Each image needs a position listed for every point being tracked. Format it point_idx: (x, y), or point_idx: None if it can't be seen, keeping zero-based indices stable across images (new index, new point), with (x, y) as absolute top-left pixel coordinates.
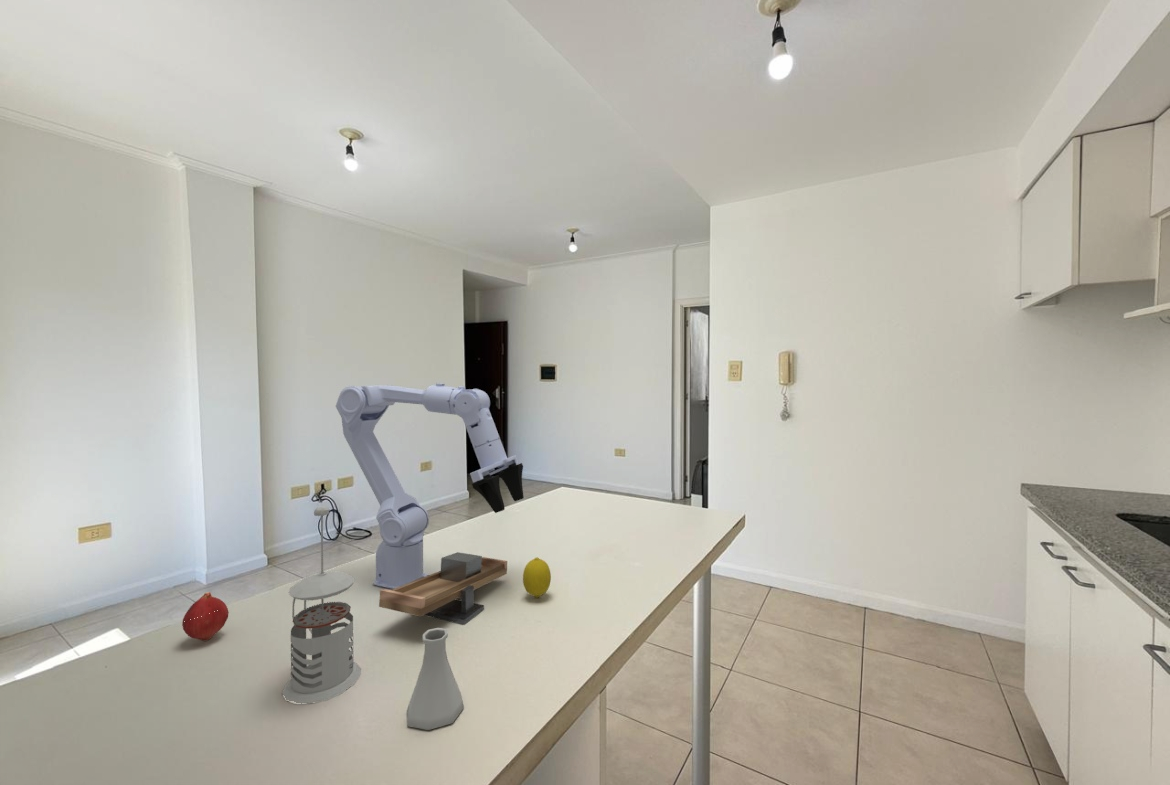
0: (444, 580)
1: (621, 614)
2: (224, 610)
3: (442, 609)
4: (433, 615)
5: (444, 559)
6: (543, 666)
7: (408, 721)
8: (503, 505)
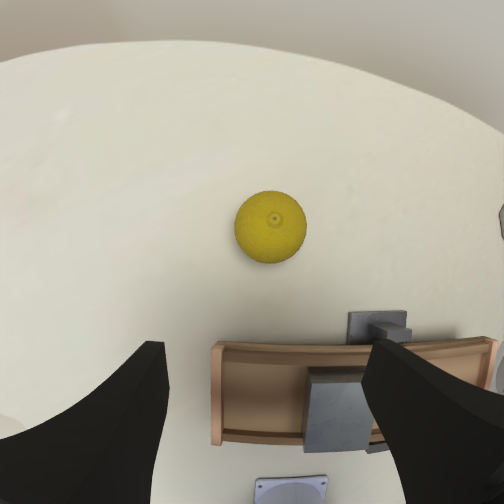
0: None
1: (271, 72)
2: None
3: None
4: None
5: (368, 440)
6: (436, 143)
7: None
8: (392, 346)
